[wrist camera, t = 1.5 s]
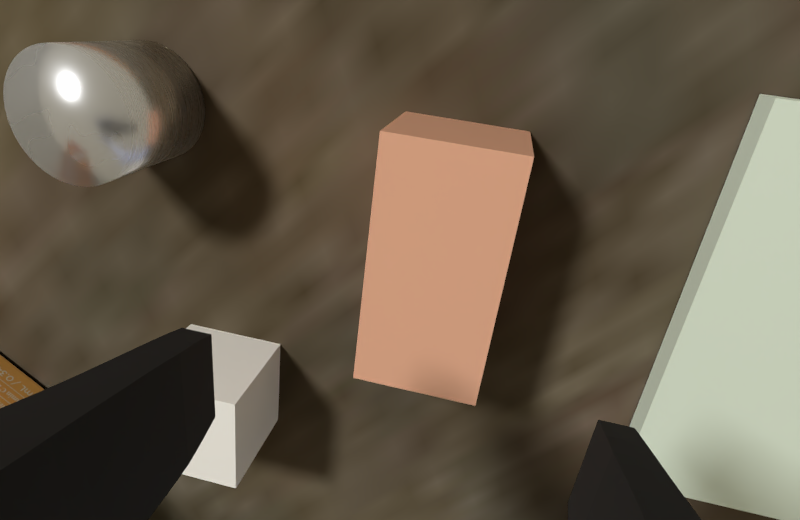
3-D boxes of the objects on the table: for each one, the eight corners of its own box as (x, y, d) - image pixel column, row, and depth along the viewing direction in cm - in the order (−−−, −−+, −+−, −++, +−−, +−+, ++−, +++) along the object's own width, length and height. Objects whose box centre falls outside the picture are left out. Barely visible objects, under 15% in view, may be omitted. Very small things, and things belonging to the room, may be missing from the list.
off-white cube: (278, 418, 23) (235, 488, 20) (195, 398, 24) (139, 462, 20) (281, 343, 22) (235, 404, 18) (192, 323, 22) (129, 379, 19)
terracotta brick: (481, 341, 20) (475, 405, 17) (379, 319, 20) (353, 377, 17) (530, 130, 17) (534, 156, 13) (406, 110, 17) (380, 130, 14)
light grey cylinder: (207, 166, 19) (136, 197, 16) (108, 148, 20) (17, 174, 16) (203, 48, 17) (122, 53, 14) (95, 32, 18) (-10, 33, 14)
